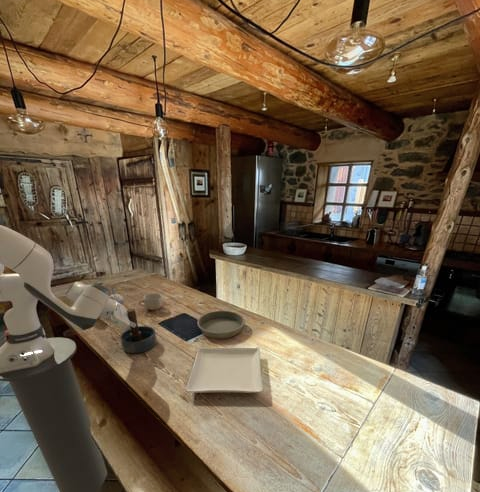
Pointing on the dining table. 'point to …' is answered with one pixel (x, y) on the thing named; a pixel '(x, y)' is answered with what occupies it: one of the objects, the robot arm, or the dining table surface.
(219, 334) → the cake pan
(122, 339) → the bowl
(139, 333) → the dark brown spice grinder
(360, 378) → the dining table surface
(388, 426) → the dining table surface
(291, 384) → the dining table surface
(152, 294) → the teacup
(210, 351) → the square plate
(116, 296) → the cup with straw
